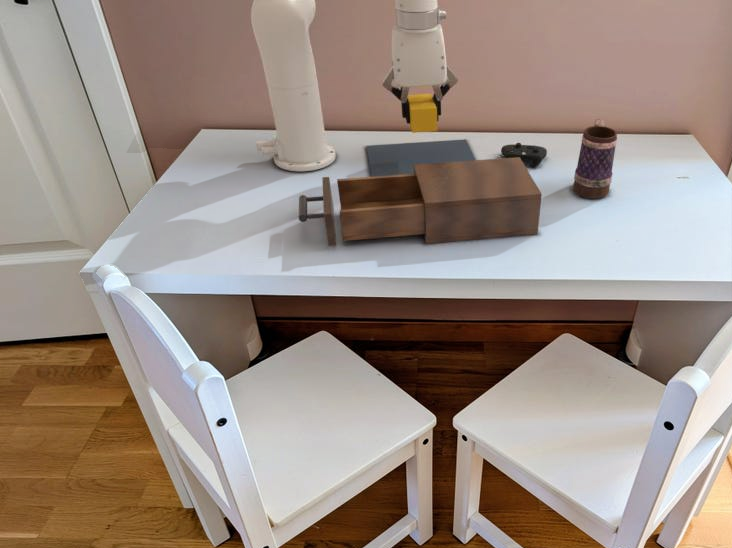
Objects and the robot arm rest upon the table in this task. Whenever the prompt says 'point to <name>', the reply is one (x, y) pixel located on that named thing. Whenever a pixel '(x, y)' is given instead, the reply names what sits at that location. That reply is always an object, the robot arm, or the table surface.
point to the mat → (415, 156)
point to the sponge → (422, 113)
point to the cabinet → (478, 199)
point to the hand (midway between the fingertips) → (421, 119)
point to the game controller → (525, 153)
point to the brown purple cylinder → (595, 161)
